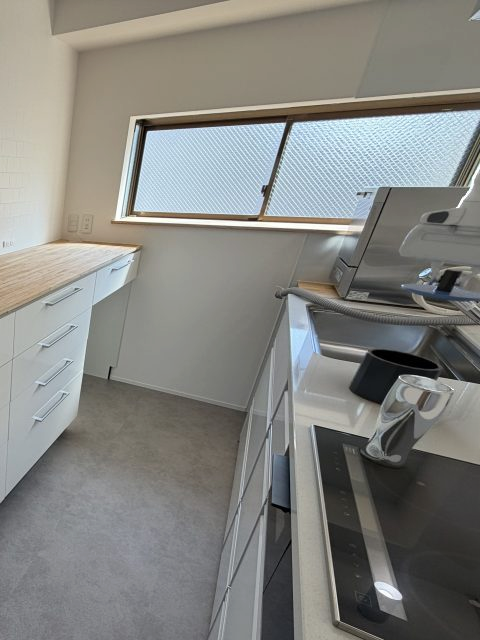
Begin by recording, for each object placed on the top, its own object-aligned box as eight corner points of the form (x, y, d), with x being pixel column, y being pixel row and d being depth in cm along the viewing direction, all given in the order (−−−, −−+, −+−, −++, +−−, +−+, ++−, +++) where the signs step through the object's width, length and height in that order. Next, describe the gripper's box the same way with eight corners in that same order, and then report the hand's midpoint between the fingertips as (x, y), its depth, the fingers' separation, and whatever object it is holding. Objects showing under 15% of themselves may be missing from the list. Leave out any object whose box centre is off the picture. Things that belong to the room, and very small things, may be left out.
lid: (494, 300, 90) (510, 274, 88) (471, 306, 85) (488, 278, 82) (413, 286, 101) (426, 263, 98) (388, 291, 95) (401, 266, 93)
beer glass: (416, 465, 72) (466, 389, 65) (394, 473, 70) (443, 395, 63) (369, 443, 78) (411, 371, 71) (347, 450, 75) (388, 376, 69)
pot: (429, 403, 94) (453, 365, 90) (405, 413, 89) (428, 374, 85) (364, 380, 104) (382, 345, 100) (338, 389, 99) (356, 352, 94)
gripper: (567, 222, 79) (521, 294, 85) (425, 213, 95) (395, 274, 101) (558, 222, 76) (511, 296, 82) (413, 213, 92) (383, 275, 98)
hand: (446, 284), depth 92 cm, fingers closed on lid, 2 cm apart
